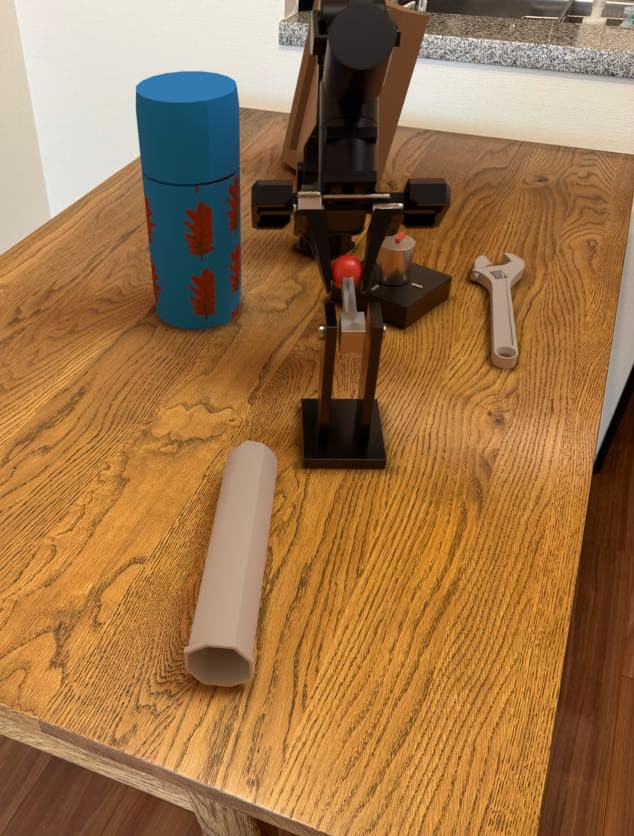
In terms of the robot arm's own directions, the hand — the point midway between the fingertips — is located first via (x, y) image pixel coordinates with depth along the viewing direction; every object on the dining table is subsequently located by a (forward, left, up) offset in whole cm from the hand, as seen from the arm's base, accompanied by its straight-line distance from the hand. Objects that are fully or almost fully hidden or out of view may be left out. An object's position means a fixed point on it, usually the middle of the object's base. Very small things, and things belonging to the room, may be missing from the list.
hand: (346, 292), depth 76 cm
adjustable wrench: (+4, +26, -12) cm, 29 cm away
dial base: (-7, +20, -12) cm, 25 cm away
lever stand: (+5, -6, -12) cm, 14 cm away
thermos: (-24, +3, -12) cm, 27 cm away
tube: (+9, -26, -12) cm, 30 cm away
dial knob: (-7, +20, -9) cm, 23 cm away
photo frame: (-33, +48, -12) cm, 60 cm away
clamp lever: (+2, -2, -1) cm, 3 cm away
